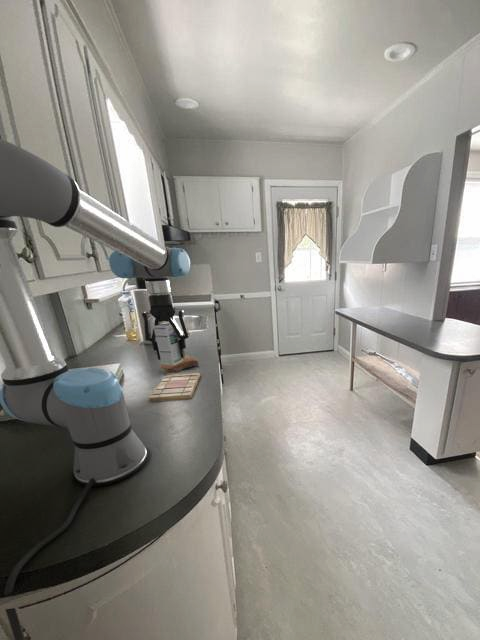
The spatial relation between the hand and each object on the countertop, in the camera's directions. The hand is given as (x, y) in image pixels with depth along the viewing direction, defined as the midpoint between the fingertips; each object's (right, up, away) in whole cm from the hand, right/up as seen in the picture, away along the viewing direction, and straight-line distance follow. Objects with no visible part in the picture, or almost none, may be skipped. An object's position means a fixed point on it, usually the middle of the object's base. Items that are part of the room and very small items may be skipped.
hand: (171, 357), depth 112 cm
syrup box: (0, -2, +1) cm, 2 cm away
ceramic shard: (-8, -2, +27) cm, 28 cm away
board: (0, -11, +5) cm, 12 cm away
